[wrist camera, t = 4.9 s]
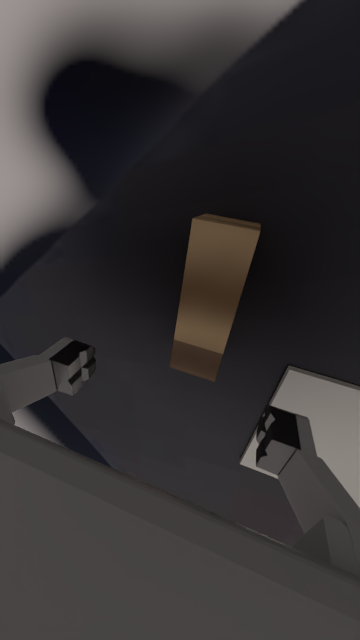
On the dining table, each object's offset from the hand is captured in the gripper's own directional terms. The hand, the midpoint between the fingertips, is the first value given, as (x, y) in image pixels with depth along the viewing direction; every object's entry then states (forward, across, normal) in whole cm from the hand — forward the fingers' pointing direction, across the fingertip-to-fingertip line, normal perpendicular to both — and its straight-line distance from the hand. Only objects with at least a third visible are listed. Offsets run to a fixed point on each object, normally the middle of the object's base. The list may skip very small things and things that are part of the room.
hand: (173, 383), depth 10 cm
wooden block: (+11, 0, 0) cm, 11 cm away
